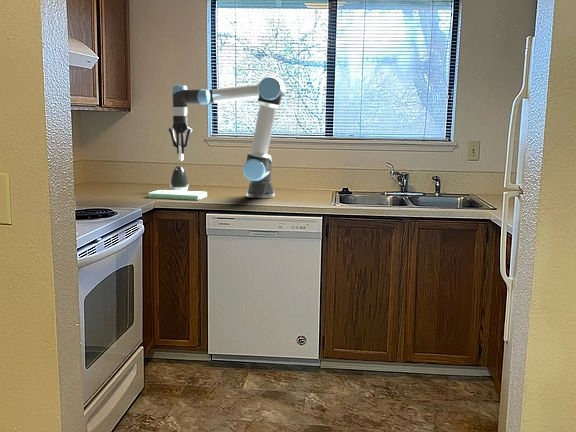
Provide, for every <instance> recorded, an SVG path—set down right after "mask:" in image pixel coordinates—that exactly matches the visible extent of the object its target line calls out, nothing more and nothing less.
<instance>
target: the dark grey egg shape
mask: <svg viewBox="0 0 576 432" xmlns="http://www.w3.org/2000/svg"><path fill="white" fill-rule="evenodd" d="M189 185H190V184H189V180H188V175H187V172H186V170H185V168H184V167H183V166H182V165H177V166H175V167H174V169H173V172H172V174H171V177H170V184H169V186H170V189H171V190H175V191H188V188H189Z"/></svg>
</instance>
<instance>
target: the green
mask: <svg viewBox="0 0 576 432" xmlns="http://www.w3.org/2000/svg"><path fill="white" fill-rule="evenodd" d="M164 190H166V191H168V192H166V193H165V192H162V191H164ZM147 196H148V199H149V198H150V199H166V200H167V199H169V200H185V199H186V200H188V201H198V200H199V199H200V200H202V199H203V198H204V199H205V198H206V197H208V192H207V191H194V190H192V191H191V190H190V191H189V190H187V191H175V190H172V189H171V190H170V189H169V190H168V189H158V190H154V191H151V192H148V193H147Z"/></svg>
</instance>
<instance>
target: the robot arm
mask: <svg viewBox="0 0 576 432" xmlns="http://www.w3.org/2000/svg"><path fill="white" fill-rule="evenodd" d="M285 92H286V86H285V83H284V82H283V80H282V79H281V78H278V77H276V76H272V75H270V76H266V77H264V78H262V80H260V81H259V83H256V84H247V85H239V86H230V87H223V88H215V89H203V88H202V89H188V87H187V85H173V86H172V115H173V116H172V123H173V125H172V127H170V128H168V129H167V130H168V132H169V134H170V137H171V140H172V141H171V143H172V146H173V147H174V148H176V154H177V155H178V161H183V160H184V155H185V154H186V148H187V147H189V144H190V139H191V134H192V132H193V128H190V127H189V125H188V116H187V115H188V105H203V106H209V105H212V104H222V103H229V102H230V103H231V102H238V101H239V102H240V101H249V100H257V102H258V104H259V108H258V114H257V117H256V124H255V129H254V134H253V138H252V145H251V150H250V151H249V152H248V153H247V155H246V160H245V162H244V165H243V167H242V172H243V175H244V176H245V177H246V179H248V180H249V185H248V188H247V191H246V197H247V198H251V199H270V198H274V197H275V191H274V188H273V183H272V162H273V160H272V156H271V155H270V154H268V152H269V147H270V142H271V138H272V137H271V136H272V131H273V127H274V120H275V116H276V111H277V108H278V107H280V106H281V100H282V98H283V96H285ZM174 131H175V132H174Z"/></svg>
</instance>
